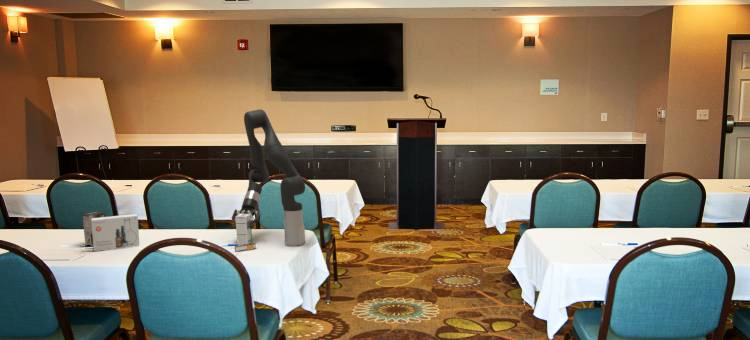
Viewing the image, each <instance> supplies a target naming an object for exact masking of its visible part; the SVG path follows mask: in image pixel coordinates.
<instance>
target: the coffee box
mask: <svg viewBox="0 0 750 340" xmlns="http://www.w3.org/2000/svg"><path fill="white" fill-rule="evenodd" d="M101 217H106V212H104V211H93V212H88V213H84V214H82V223H83V225H82V226H83V234H84V245H85V246H87V245H91V246H92V247H93V236H92V220H91V218H101ZM91 246H90V247H91Z"/></svg>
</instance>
